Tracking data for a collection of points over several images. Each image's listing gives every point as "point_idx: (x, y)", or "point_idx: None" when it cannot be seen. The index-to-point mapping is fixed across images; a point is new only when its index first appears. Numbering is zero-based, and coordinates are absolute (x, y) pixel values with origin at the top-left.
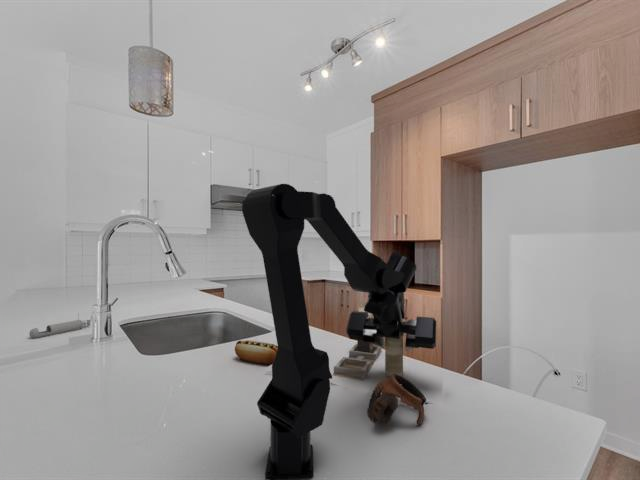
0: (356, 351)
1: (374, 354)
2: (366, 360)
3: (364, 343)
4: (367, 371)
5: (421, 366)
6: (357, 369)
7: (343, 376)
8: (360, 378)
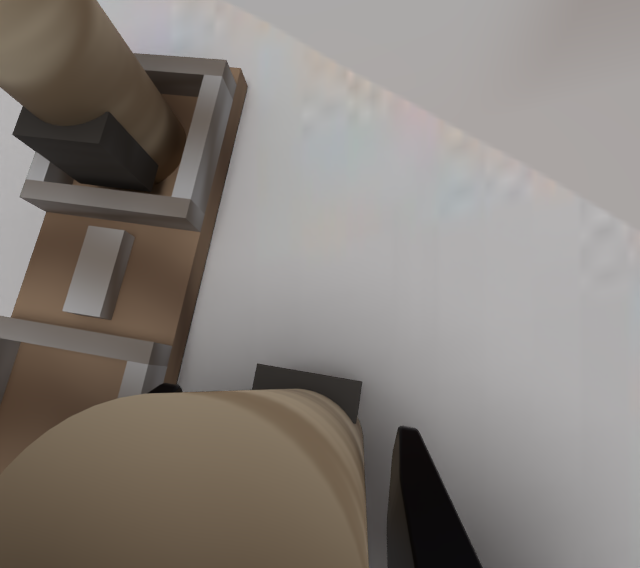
0: (65, 191)
1: (178, 216)
2: (122, 341)
3: (80, 153)
4: None
5: (471, 192)
6: None
7: None
8: None
